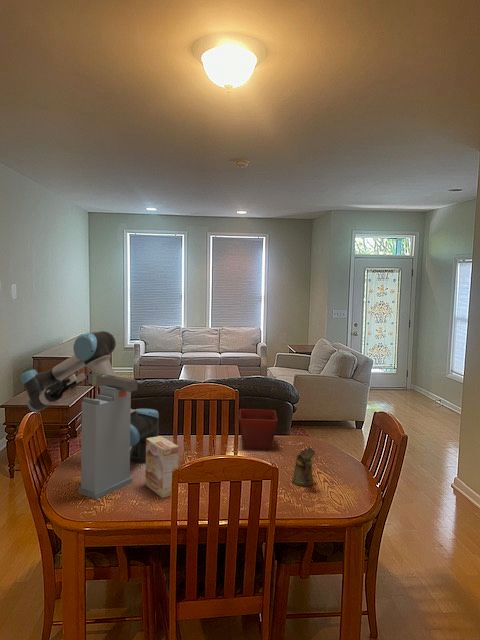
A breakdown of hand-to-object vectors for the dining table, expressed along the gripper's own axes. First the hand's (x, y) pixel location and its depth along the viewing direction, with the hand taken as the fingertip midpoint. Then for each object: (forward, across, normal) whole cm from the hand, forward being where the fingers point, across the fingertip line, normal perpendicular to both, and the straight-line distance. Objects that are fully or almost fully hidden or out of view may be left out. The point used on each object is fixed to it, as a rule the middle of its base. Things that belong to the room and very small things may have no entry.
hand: (79, 376), depth 205 cm
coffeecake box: (+19, -4, -58) cm, 61 cm away
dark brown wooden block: (+21, +3, -12) cm, 25 cm away
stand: (+3, +8, -48) cm, 49 cm away
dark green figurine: (+58, -42, -80) cm, 108 cm away
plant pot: (+22, -72, -61) cm, 97 cm away
